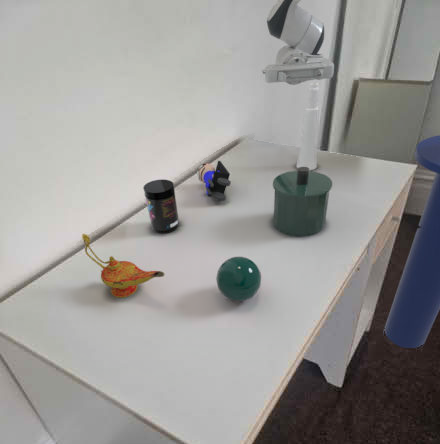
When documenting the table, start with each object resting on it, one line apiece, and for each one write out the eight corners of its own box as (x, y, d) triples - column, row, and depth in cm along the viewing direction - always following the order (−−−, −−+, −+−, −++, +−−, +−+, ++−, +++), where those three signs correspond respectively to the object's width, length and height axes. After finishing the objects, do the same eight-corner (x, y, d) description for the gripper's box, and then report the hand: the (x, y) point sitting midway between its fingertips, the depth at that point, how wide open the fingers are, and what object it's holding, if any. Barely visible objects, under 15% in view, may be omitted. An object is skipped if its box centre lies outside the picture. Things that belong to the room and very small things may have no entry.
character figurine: (209, 209, 95) (198, 185, 106) (236, 202, 95) (222, 179, 107) (204, 180, 90) (192, 158, 101) (233, 173, 90) (218, 152, 101)
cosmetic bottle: (315, 171, 107) (325, 86, 92) (294, 170, 108) (300, 86, 94) (318, 163, 111) (327, 80, 97) (297, 162, 113) (304, 80, 98)
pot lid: (300, 170, 87) (302, 152, 84) (344, 187, 79) (347, 168, 76) (260, 187, 82) (260, 169, 79) (303, 207, 74) (305, 187, 71)
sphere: (236, 317, 64) (234, 281, 59) (209, 294, 69) (205, 259, 64) (270, 297, 68) (271, 262, 62) (242, 276, 73) (241, 242, 67)
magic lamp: (159, 315, 66) (147, 266, 59) (84, 289, 73) (65, 242, 65) (179, 292, 70) (171, 243, 63) (106, 270, 77) (91, 223, 70)
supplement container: (163, 217, 92) (156, 177, 86) (185, 223, 89) (179, 182, 83) (146, 230, 88) (136, 189, 81) (168, 237, 85) (160, 195, 78)
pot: (297, 206, 92) (300, 169, 86) (334, 223, 85) (341, 184, 79) (263, 222, 87) (263, 184, 81) (299, 242, 80) (303, 202, 74)
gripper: (261, 58, 113) (267, 67, 103) (328, 53, 113) (340, 62, 103) (261, 81, 118) (266, 92, 107) (325, 77, 117) (337, 87, 107)
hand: (303, 77), depth 105 cm, fingers open, 8 cm apart
